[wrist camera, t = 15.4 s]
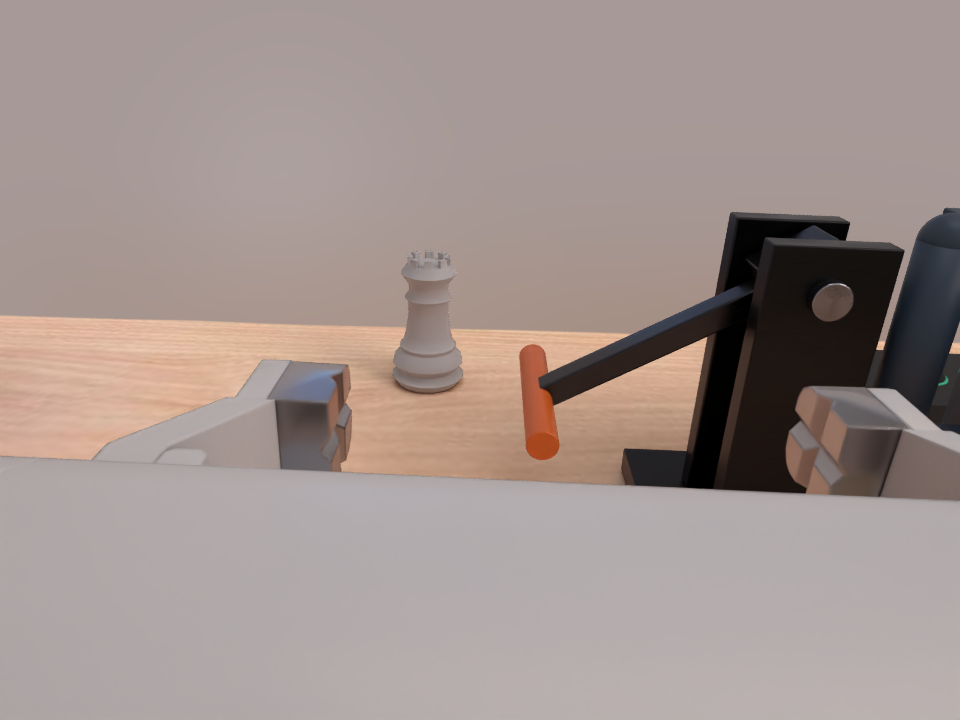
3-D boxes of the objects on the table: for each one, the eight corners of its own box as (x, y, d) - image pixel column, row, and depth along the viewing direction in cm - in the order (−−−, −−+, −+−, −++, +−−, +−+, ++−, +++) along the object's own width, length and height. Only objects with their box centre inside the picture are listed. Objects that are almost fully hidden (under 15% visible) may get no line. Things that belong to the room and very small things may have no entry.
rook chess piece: (437, 359, 48) (439, 242, 44) (477, 384, 45) (482, 260, 41) (379, 374, 45) (376, 252, 42) (416, 402, 42) (416, 272, 39)
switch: (542, 478, 26) (512, 427, 25) (532, 381, 33) (508, 340, 33) (899, 325, 23) (879, 262, 22) (803, 257, 31) (785, 208, 30)
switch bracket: (662, 611, 27) (727, 263, 22) (620, 467, 36) (659, 196, 31) (897, 621, 27) (1025, 275, 22) (797, 475, 36) (867, 205, 31)
